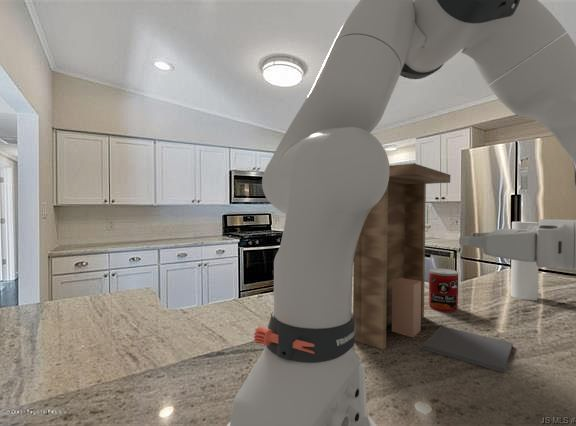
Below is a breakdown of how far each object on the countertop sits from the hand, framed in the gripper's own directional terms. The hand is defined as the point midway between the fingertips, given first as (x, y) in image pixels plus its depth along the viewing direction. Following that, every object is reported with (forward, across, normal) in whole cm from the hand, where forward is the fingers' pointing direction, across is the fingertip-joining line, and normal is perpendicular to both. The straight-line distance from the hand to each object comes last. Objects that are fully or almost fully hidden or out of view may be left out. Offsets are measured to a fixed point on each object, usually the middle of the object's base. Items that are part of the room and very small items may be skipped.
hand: (465, 238), depth 65 cm
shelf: (+12, 0, +23) cm, 26 cm away
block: (+12, 0, +23) cm, 26 cm away
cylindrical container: (-6, -55, +24) cm, 60 cm away
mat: (-1, 0, +23) cm, 23 cm away
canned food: (+10, -24, +24) cm, 35 cm away
